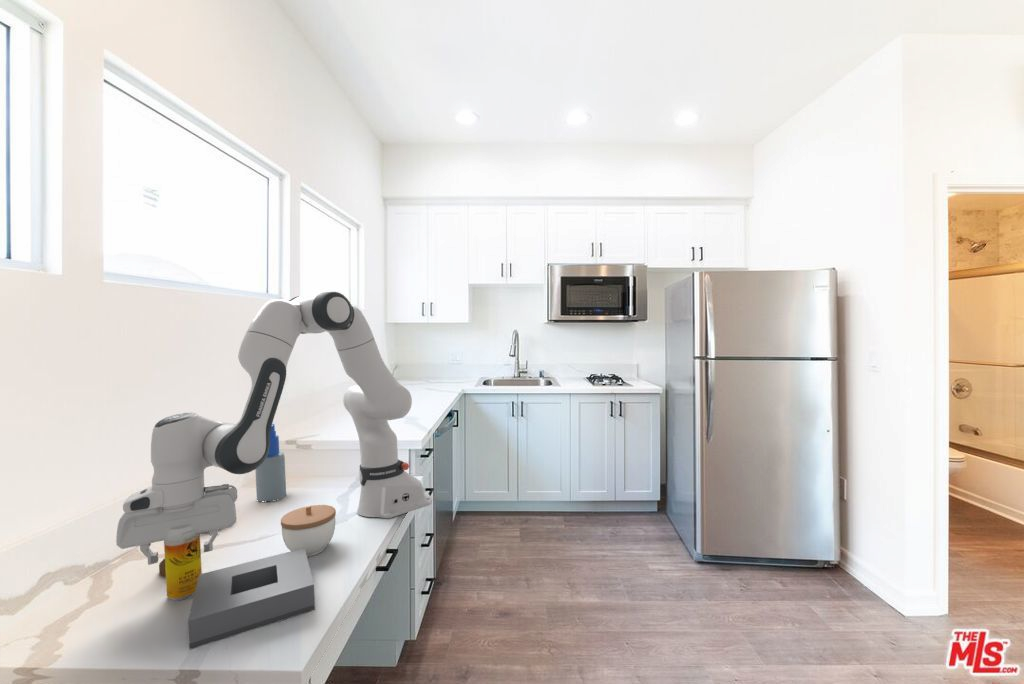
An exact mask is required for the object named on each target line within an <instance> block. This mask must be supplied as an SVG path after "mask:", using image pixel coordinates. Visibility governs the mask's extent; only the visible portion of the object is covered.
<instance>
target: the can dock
mask: <svg viewBox="0 0 1024 684" xmlns="http://www.w3.org/2000/svg"><path fill="white" fill-rule="evenodd" d="M192 598H193V599H192V603H191V607H190V612H189V615H188V619H187V624H188V626H187V627H188V628H187V631H188V645H189V646H188V647H189V650H192V649H195V648H199V647H201V646H205V645H208V644H212V643H214V642H217V641H221V640H223V639H227V638H230V637H233V636H235V635H236V636H237V635H239V634H240V635H241V634H242V633H243V634H244V633H247V632H249V631H253V630H255V629H258V628H261V627H265V626H268V625H271V624H274V623H277V622H280V621H284V620H287V619H290V618H293V617H296V616H299V615H302V614H303V615H304V614H306V613H308V612H312V611H315V610H316V601H315V600H316V599H315V583H314V579H313V575H312V571H311V568H310V563H309V559H308V557H307V555H306V551H305V548H303V549H299V550H295V551H288V552H284V553H283V552H282V553H280V554H276V555H271V556H267V557H264V558H259V559H255V560H251V561H247V562H243V563H239V564H236V565H231V566H227V567H224V568H220V569H215V570H212V571H211V570H210V571H207V572H202V574H199V577H198V581H197V585H196V589H195V594H194V595H193V597H192Z"/></svg>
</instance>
